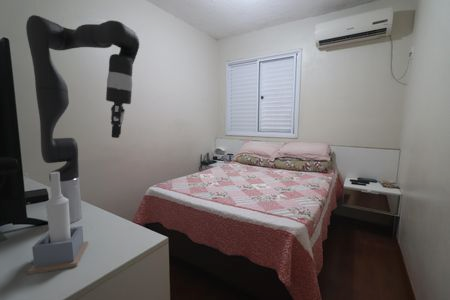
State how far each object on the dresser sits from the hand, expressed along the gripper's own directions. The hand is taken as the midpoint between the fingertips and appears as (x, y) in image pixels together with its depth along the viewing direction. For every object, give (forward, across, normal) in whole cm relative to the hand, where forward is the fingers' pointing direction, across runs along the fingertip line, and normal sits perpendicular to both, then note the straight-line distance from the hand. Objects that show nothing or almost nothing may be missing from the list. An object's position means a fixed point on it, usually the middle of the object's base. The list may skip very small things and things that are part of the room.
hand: (116, 136), depth 73 cm
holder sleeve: (+36, +12, -12) cm, 40 cm away
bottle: (+36, +11, -12) cm, 39 cm away
